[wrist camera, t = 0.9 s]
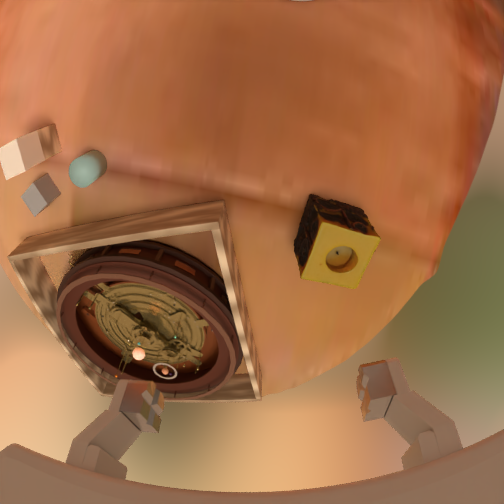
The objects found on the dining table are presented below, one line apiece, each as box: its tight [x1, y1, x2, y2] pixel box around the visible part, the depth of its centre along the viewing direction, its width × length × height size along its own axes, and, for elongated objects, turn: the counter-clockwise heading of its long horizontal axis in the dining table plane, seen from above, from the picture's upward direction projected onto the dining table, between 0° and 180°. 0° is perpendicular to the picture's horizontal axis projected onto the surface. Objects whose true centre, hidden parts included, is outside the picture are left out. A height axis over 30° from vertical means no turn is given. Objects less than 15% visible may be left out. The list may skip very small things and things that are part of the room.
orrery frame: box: [8, 200, 262, 403], centre depth 61 cm, size 48×46×8 cm
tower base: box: [37, 124, 62, 160], centre depth 40 cm, size 6×6×6 cm
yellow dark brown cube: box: [294, 194, 381, 289], centre depth 47 cm, size 10×10×10 cm
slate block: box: [21, 173, 61, 217], centre depth 46 cm, size 5×5×5 cm
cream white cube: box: [0, 130, 45, 180], centre depth 36 cm, size 6×6×6 cm
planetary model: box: [56, 240, 243, 400], centre depth 59 cm, size 43×45×12 cm
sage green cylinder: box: [69, 150, 107, 187], centre depth 43 cm, size 5×5×5 cm
